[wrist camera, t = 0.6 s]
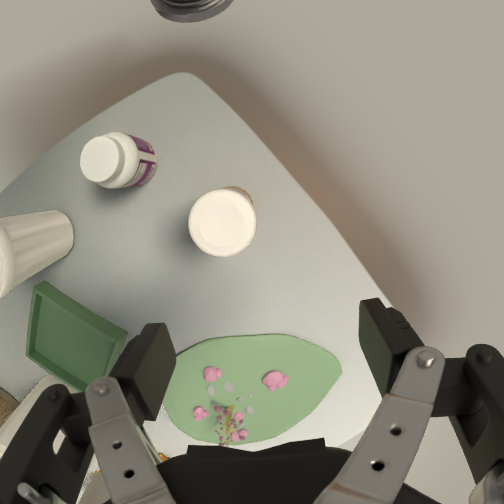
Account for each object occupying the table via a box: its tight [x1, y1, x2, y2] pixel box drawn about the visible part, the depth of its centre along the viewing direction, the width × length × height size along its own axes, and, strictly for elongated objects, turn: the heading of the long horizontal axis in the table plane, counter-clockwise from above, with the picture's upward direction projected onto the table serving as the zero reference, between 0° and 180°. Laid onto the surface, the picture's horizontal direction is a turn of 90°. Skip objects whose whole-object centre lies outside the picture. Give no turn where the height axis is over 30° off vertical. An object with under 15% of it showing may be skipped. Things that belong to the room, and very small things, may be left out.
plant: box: [163, 334, 342, 447], centre depth 34 cm, size 25×21×9 cm
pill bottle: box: [80, 132, 158, 189], centre depth 26 cm, size 5×5×10 cm
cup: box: [0, 210, 74, 299], centre depth 26 cm, size 8×8×14 cm
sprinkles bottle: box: [188, 187, 256, 257], centre depth 26 cm, size 5×5×13 cm
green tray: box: [26, 281, 127, 392], centre depth 35 cm, size 14×13×3 cm
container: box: [0, 374, 96, 488], centre depth 31 cm, size 14×14×18 cm
